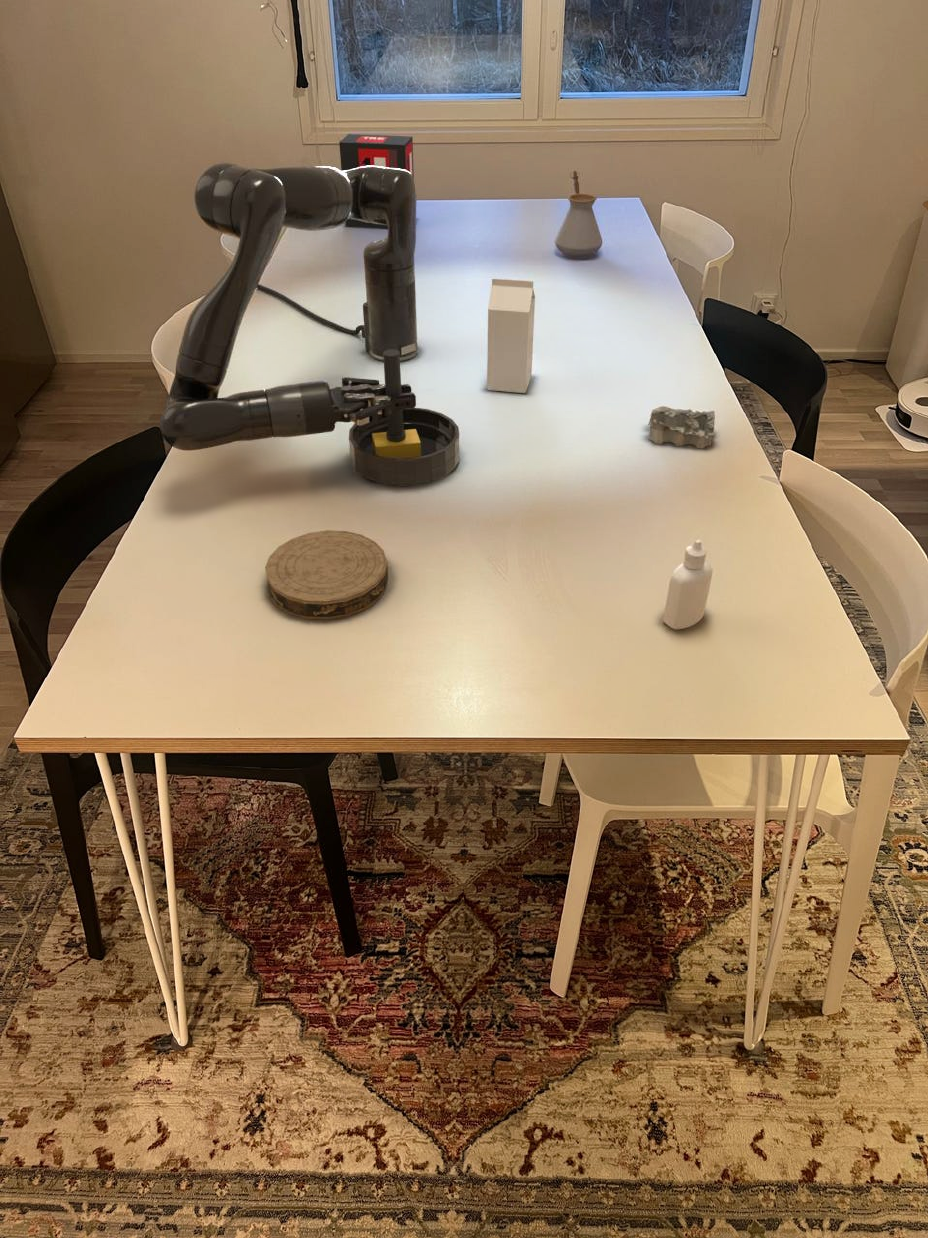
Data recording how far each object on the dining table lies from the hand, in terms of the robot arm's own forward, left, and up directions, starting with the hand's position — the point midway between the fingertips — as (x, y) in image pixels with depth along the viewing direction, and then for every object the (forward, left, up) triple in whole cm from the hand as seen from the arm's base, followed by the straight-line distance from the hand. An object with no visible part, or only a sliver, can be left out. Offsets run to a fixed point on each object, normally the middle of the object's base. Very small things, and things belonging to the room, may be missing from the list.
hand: (412, 395), depth 143 cm
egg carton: (+33, +30, -12) cm, 46 cm away
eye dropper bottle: (+52, -15, -12) cm, 55 cm away
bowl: (-1, -1, -11) cm, 12 cm away
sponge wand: (-2, -2, -11) cm, 11 cm away
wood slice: (+9, -33, -12) cm, 36 cm away
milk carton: (-1, +32, -12) cm, 34 cm away
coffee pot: (-26, +107, -12) cm, 111 cm away
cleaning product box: (-78, +97, -12) cm, 126 cm away
